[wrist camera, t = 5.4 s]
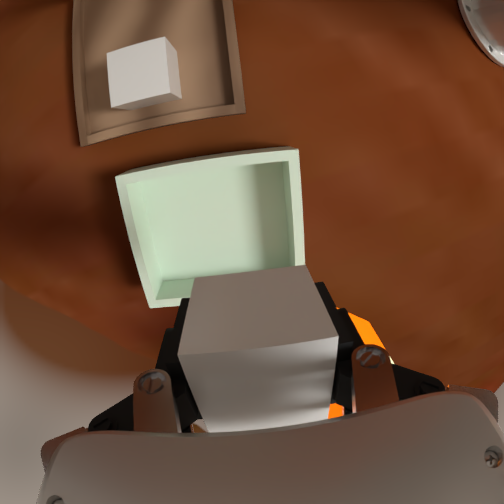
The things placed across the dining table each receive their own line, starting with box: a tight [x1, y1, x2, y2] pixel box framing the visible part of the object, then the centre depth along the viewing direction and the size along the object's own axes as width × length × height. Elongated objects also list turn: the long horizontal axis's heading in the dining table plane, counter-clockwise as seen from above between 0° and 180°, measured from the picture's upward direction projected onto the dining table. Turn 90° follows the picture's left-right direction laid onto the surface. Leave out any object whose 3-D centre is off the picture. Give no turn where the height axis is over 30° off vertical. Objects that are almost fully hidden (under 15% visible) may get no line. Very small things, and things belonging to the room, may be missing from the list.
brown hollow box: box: [72, 0, 246, 147], centre depth 13 cm, size 15×17×14 cm
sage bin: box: [115, 146, 305, 308], centre depth 24 cm, size 14×12×4 cm
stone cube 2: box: [107, 37, 182, 110], centre depth 18 cm, size 4×4×4 cm
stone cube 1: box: [177, 265, 339, 433], centre depth 11 cm, size 4×4×4 cm
